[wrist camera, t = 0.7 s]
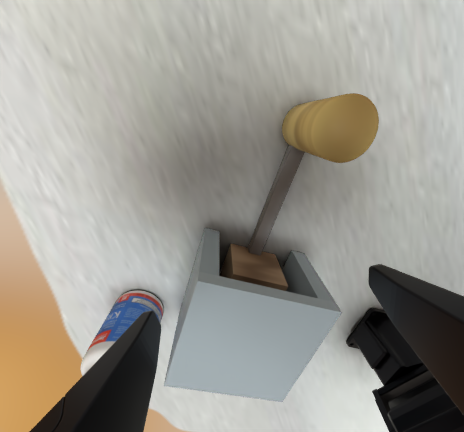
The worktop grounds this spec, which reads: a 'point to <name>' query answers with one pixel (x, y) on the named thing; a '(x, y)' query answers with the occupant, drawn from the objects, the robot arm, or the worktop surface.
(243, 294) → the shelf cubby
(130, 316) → the pill bottle
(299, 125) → the block
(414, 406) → the robot arm
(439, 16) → the worktop surface
